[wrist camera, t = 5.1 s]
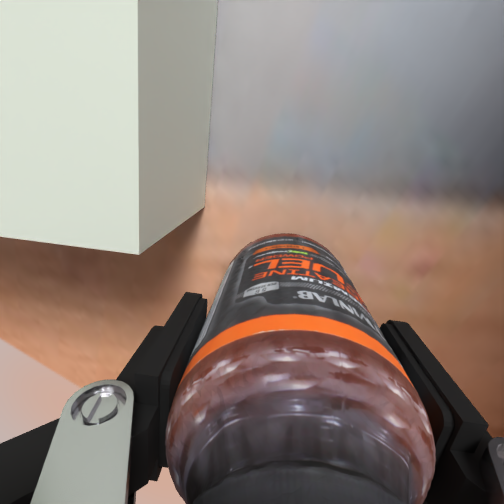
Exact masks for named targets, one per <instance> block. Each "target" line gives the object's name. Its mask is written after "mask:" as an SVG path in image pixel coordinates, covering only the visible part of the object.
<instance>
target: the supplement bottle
mask: <svg viewBox="0 0 504 504" xmlns="http://www.w3.org/2000/svg"><path fill="white" fill-rule="evenodd" d="M165 445H166V459H167V464H168V467H169V471H170V475H171V477H172V480H173V482H174V485H175V488H176V490H177V491H178V493H179V495H180V496H181V497H182V498H183V500H184V501H185V503H186V504H423V502H424V500H425V498H426V496H427V492H428V490H429V488H430V486H431V481H432V479H433V476H434V472H435V461H436V459H435V452H436V450H435V444H434V438H433V433H432V428H431V425H430V422H429V418H428V415H427V413H426V410H425V408H424V405H423V403H422V401H421V399H420V397H419V395H418V392H417V391H416V389H415V388H414V386H413V384H412V383H411V381H410V379H409V378H408V376H407V374H406V373H405V371H404V369H403V367H402V365H401V364H400V362H399V360H398V359H397V357H396V355H395V354H394V352H393V351H392V349H391V347H390V346H389V344H388V343H387V341H386V339H385V338H384V336H383V334H382V332H381V330H380V328H379V327H378V325H377V323H376V322H375V321H374V319H373V318H372V316H371V314H370V312H369V311H368V309H367V307H366V306H365V304H364V302H363V301H362V299H361V298H360V296H359V294H358V292H357V291H356V289H355V288H354V285H353V283H352V282H351V280H350V279H349V277H348V276H347V274H346V272H345V271H344V269H343V267H342V266H341V264H340V262H339V261H338V260H337V259H336V258H335V257H334V255H333V254H332V253H331V252H330V251H329V250H328V249H327V248H325V247H324V246H323V245H321V244H319V243H318V242H316V241H314V240H312V239H310V238H307V237H305V236H300V235H297V234H274V235H269V236H266V237H262V238H260V239H257V240H255V241H254V242H251V243H249V244H248V245H247V246H245V247H244V248H243V249H242V250H241V251H240V252H239V253H238V254H237V255H236V256H235V257H234V259H233V260H232V262H231V263H230V265H229V267H228V269H227V271H226V273H225V275H224V278H223V280H222V282H221V285H220V287H219V290H218V292H217V294H216V297H215V299H214V302H213V304H212V307H211V309H210V311H209V314H208V316H207V318H206V321H205V323H204V325H203V328H202V330H201V333H200V335H199V338H198V340H197V342H196V345H195V347H194V349H193V352H192V354H191V356H190V358H189V361H188V364H187V366H186V369H185V372H184V374H183V376H182V379H181V381H180V383H179V386H178V388H177V391H176V394H175V396H174V399H173V403H172V406H171V410H170V412H169V416H168V420H167V427H166V436H165Z"/></svg>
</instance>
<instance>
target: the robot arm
mask: <svg viewBox="0 0 504 504" xmlns="http://www.w3.org/2000/svg"><path fill="white" fill-rule="evenodd" d="M206 313H207V299H204V298H202V294H197V293H190V292H186V293H185V294H184V296H183V297H182V299H181V300H180V302H179V303H178V305H177V307H176V308H175V310H174V311H173V313H172V315H171V316H170V318H169V319H168V321H167V322H166V324H165V326H164V327H163V326H154V327H153V328H152V329H151V330H150V332H149V333H148V335H147V336H146V338H145V339H144V340H143V342H142V343H141V345H140V346H139V348H138V349H137V350H136V352H135V353H134V355H133V356H132V358H131V359H130V361H129V362H128V363H127V365H126V366H125V368H124V369H123V371H122V372H121V373H120V375H119V376H118V378H117V379H116V380H102V381H97V382H94V383H91V384H89V385H87V386H84V387H83V388H81V389H80V390H78V391H77V392H75V393H74V394H73V395H72V396H71V397H70V399H68V401H67V403H66V405H65V406H64V408H63V411H62V414H61V417H60V418H59V419H57V420H54V421H52V422H49V423H47V424H45V425H42V426H40V427H38V428H36V429H33V430H31V431H29V432H26V433H24V434H22V435H19V436H17V437H15V438H13V439H10V440H8V441H5V442H3V443H1V444H0V504H135V501H136V491H137V490H139V489H140V488H142V487H143V486H144V485H146V484H148V481H149V480H153V481H157V480H158V477H159V475H160V472H161V469H162V467H167V468H168V464H167V459H166V445H165V436H166V427H167V420H168V416H169V412H170V410H171V406H172V403H173V399H174V396H175V394H176V391H177V388H178V386H179V383H180V381H181V379H182V376H183V374H184V372H185V369H186V366H187V364H188V361H189V358H190V356H191V354H192V352H193V349H194V347H195V345H196V342H197V340H198V338H199V335H200V333H201V330H202V328H203V325H204V323H205V321H206ZM380 330H381V332H382V334H383V336H384V338H385V339H386V341H387V343H388V344H389V346H390V347H391V349H392V351H393V352H394V354H395V355H396V357H397V359H398V360H399V362H400V364H401V365H402V367H403V369H404V371H405V373H406V374H407V376H408V378H409V379H410V381H411V383H412V384H413V386H414V388H415V389H416V391H417V392H418V395H419V397H420V399H421V401H422V403H423V405H424V408H425V410H426V413H427V415H428V418H429V422H430V425H431V428H432V433H433V438H434V444H435V450H436V452H435V459H436V461H435V472H434V476H433V479H432V481H431V486H430V488H429V490H428V492H427V496H426V498H425V500H424V502H423V504H504V437H496V438H492V437H491V436H490V434H489V433H488V432H487V428H488V426H489V425H488V423H487V422H486V421H485V420H484V418H483V417H482V416H481V415H480V413H479V412H478V411H477V410H476V408H475V407H474V406H473V405H472V403H471V402H470V401H469V399H468V398H467V397H466V396H465V394H464V393H463V392H462V391H461V389H460V388H459V387H458V386H457V384H456V383H455V382H454V381H453V379H452V378H451V377H450V376H449V374H448V373H447V372H446V370H445V369H444V368H443V367H442V365H441V364H440V363H439V362H438V360H437V359H436V358H435V357H434V355H433V354H432V353H431V352H430V350H429V349H428V348H427V347H426V345H425V344H424V343H423V341H422V340H421V339H420V338H419V336H418V335H417V334H416V333H415V331H414V330H413V329H412V328H411V326H410V325H409V324H408V323H407V322H400V321H393V320H389V321H387V323H386V324H384V323H383V324H382V325H381V327H380Z"/></svg>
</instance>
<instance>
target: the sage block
mask: <svg viewBox="0 0 504 504" xmlns="http://www.w3.org/2000/svg"><path fill="white" fill-rule="evenodd" d="M217 9H218V0H0V237H7V238H14V239H22V240H30V241H37V242H45V243H53V244H60V245H68V246H76V247H83V248H91V249H99V250H106V251H114V252H122V253H129V254H137V255H139V254H141V253H142V252H144V251H145V250H146V249H148V248H149V247H150V246H152V245H153V244H155V243H156V242H157V241H159V240H160V239H161V238H163V237H164V236H165V235H167V234H168V233H170V232H171V231H172V230H174V229H175V228H176V227H178V226H179V225H181V224H182V223H183V222H185V221H186V220H187V219H189V218H190V217H191V216H193V215H194V214H196V213H197V212H198V211H200V210H201V209H202V208H204V207H205V191H206V176H207V161H208V146H209V131H210V115H211V100H212V85H213V70H214V55H215V40H216V24H217Z"/></svg>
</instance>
